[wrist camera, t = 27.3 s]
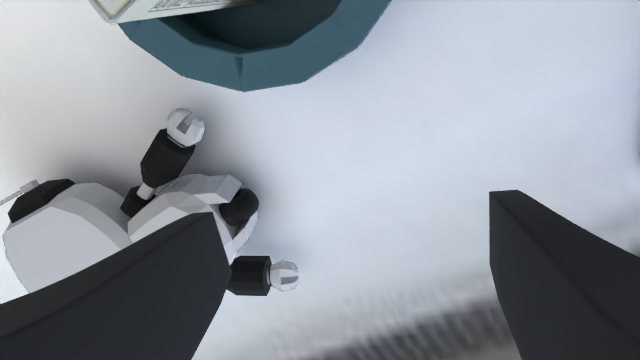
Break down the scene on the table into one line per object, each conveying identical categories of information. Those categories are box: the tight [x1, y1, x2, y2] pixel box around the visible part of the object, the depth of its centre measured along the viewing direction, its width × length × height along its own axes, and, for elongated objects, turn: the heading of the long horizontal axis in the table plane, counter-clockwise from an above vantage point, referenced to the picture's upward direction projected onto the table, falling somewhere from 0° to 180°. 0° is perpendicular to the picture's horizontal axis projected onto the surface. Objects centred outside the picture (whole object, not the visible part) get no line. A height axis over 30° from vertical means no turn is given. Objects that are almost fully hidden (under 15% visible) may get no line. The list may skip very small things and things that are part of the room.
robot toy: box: [0, 108, 299, 296], centre depth 23 cm, size 12×4×15 cm
